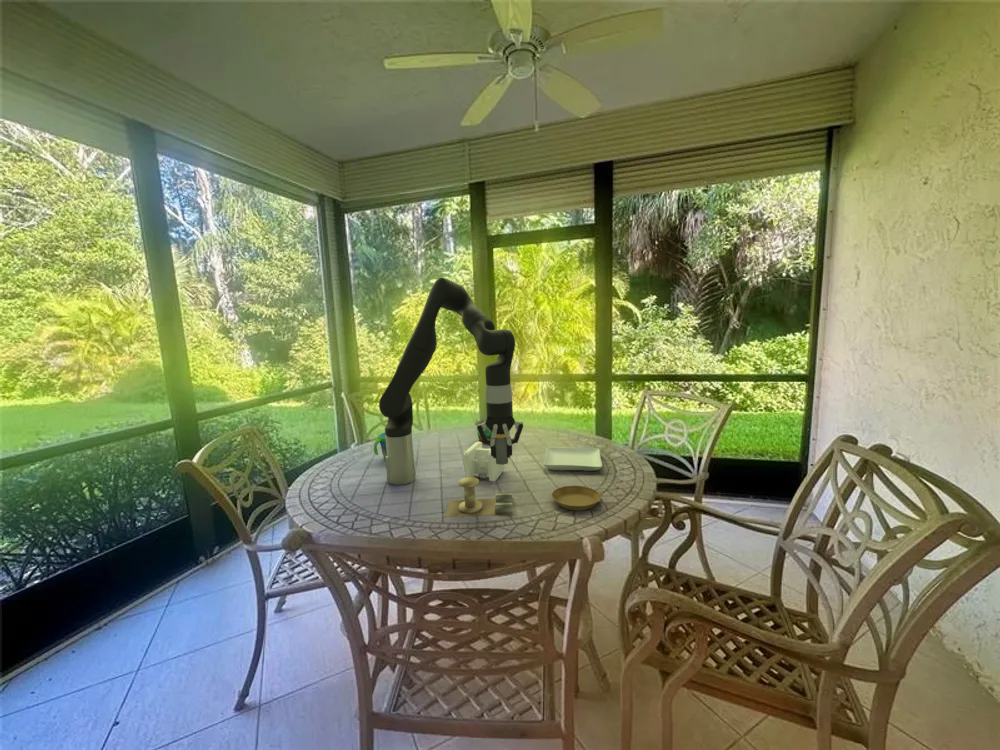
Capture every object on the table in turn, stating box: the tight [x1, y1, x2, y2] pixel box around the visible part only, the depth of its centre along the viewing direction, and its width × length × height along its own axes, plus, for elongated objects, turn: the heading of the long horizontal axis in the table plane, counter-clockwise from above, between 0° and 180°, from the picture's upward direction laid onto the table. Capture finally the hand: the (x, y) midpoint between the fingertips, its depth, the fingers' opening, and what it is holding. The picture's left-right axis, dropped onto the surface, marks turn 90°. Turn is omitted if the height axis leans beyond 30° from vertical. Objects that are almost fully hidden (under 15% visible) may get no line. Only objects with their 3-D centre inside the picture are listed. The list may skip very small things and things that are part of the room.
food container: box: [474, 420, 492, 444], centre depth 197 cm, size 12×6×10 cm, turn 81°
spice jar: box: [495, 433, 509, 466], centre depth 127 cm, size 4×4×9 cm
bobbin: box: [458, 477, 482, 513], centre depth 129 cm, size 7×7×8 cm
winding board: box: [444, 492, 515, 518], centre depth 130 cm, size 20×11×4 cm, turn 89°
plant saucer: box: [551, 485, 601, 511], centre depth 133 cm, size 15×15×3 cm
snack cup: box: [373, 432, 387, 460], centre depth 181 cm, size 16×10×10 cm
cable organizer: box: [462, 441, 505, 482], centre depth 156 cm, size 15×11×12 cm
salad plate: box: [542, 446, 603, 472], centre depth 166 cm, size 21×21×3 cm
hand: (501, 456), depth 127 cm, fingers closed on spice jar, 3 cm apart
